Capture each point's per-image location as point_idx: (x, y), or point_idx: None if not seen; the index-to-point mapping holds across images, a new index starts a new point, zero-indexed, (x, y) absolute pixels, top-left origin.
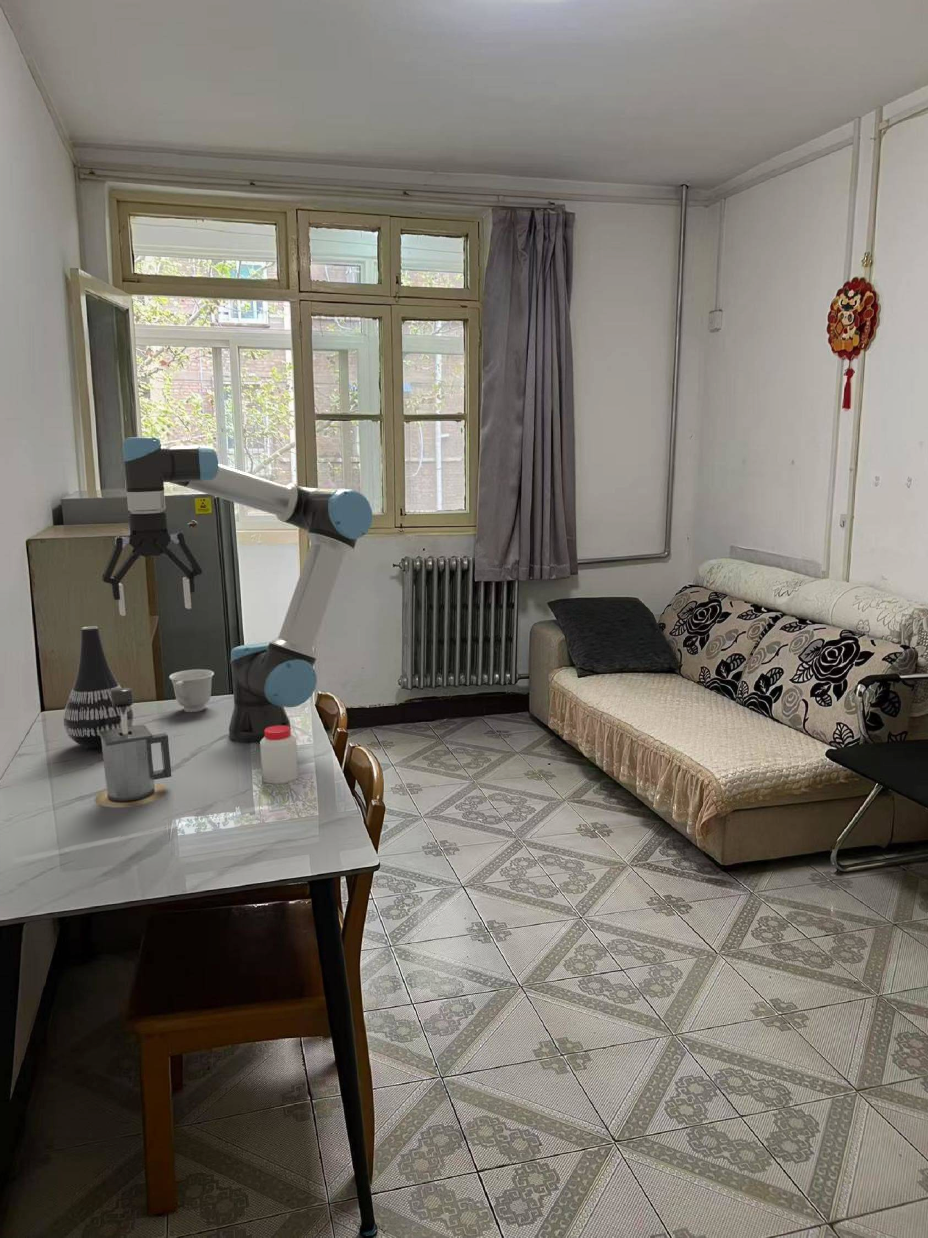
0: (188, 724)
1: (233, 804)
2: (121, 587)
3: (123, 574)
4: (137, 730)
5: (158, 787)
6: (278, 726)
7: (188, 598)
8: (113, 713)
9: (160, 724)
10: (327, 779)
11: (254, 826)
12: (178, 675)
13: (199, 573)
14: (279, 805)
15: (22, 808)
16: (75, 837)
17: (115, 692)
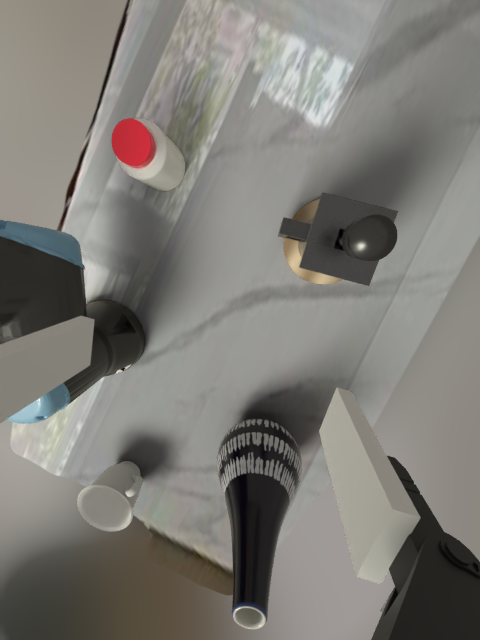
0: (157, 429)
1: (251, 119)
2: (396, 494)
3: (419, 613)
4: (324, 241)
5: (291, 240)
6: (123, 154)
7: (55, 331)
8: (255, 436)
9: (180, 452)
10: (123, 109)
11: (273, 14)
12: (116, 524)
13: None
14: (212, 65)
15: (424, 309)
16: (437, 164)
17: (392, 229)
